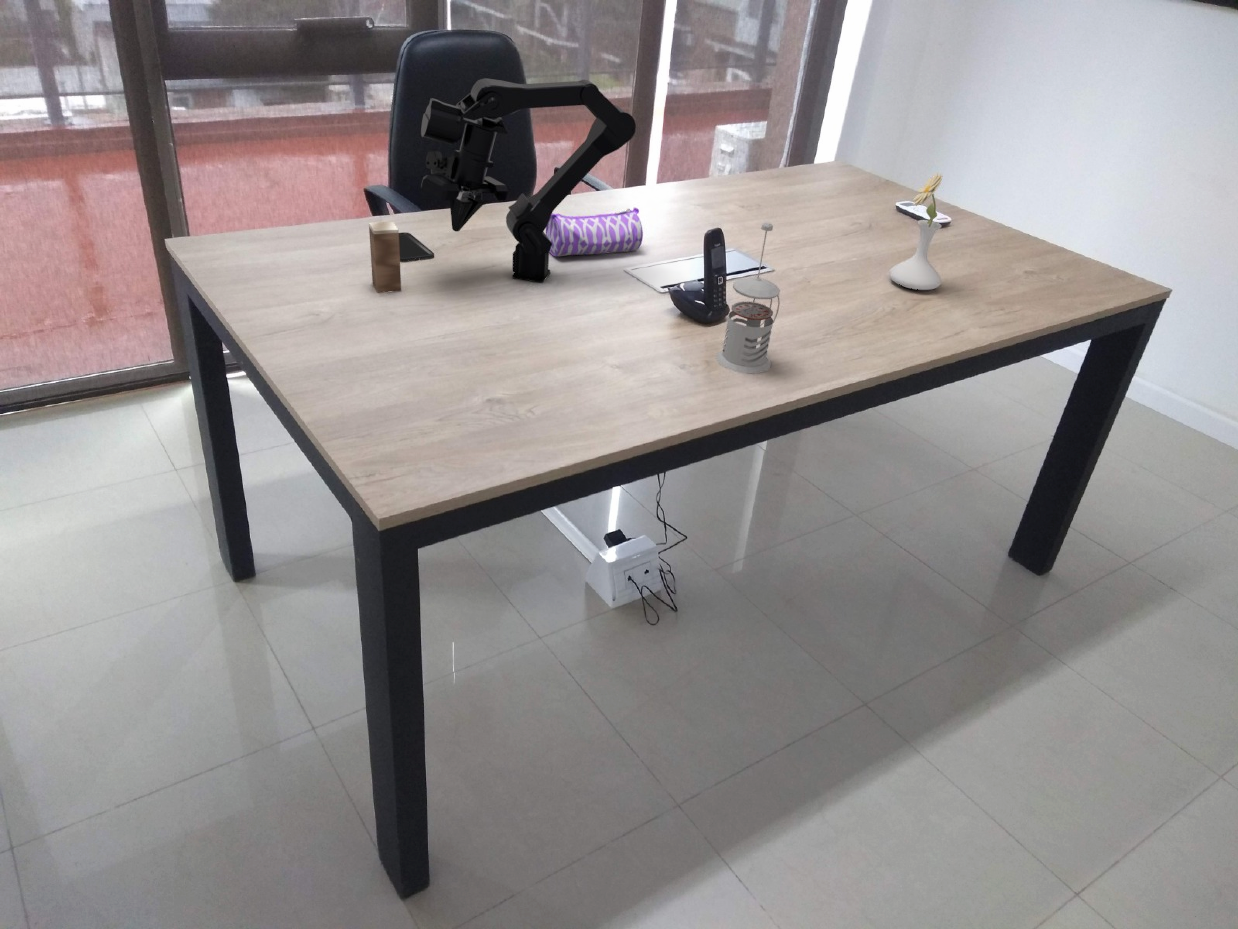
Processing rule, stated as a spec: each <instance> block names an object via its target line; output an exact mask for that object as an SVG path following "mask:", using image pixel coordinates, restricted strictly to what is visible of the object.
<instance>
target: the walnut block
mask: <svg viewBox="0 0 1238 929" xmlns="http://www.w3.org/2000/svg"><path fill="white" fill-rule="evenodd" d="M368 230H369V231H368V233H369V248H370V264H371V276H372V277H371V278H372V286H373V287H374V288H375V290H376V294H381V293H389V292H388V291H393V292H402V280H401V262H400V252H399V233H400V232H399V229H398V226H396V224H395V222H394V221H383V222H382V221H381V222H368ZM380 292H381V293H380Z"/></svg>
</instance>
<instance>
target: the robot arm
mask: <svg viewBox="0 0 1238 929" xmlns="http://www.w3.org/2000/svg"><path fill="white" fill-rule="evenodd" d="M429 99H430V100H429V104H428V105H427V106H426V109H425V113H423V116H422V120H421V126H420V127H421V128H420V135H421V137H422V138H426V139H431V140H433V141H437V142H442V143H445V144H448V145H451V146H452V145H453V144H455V143H458V142H459V141H461V143H460V147H459V150H457V149H455V150H454V151H453V152H452V155H451V156H450V157H447V156H446V157H445V156H443V155H442V152H441V151H434V150H433V151H432V150H430V151H428V152H427V155H426V159H425V166H426V168H427V169H429V170H430V173H431V174H426V175H425V176H423V177H422V181H421V185H420V189H421V190H423V191H425V192H426V193H428V194H431V195H432V196H434V197H436V198H438V199H440V200H443V201H448V203H449V210H450V219H451V229H452V231H454V232H456V233H457V232H460V231H461V229H462V228H463V227H464V226H465V225H466V223H468V221H469V220H470V219H471V218H472V217H473V216H474V215H475V214H476V212H477V211H479V210H480V208H482V207H483V206H484V205H486V204H487V201H486V200H484V199H483V194H492V195H493V197H494V199H495V200H496V201H507V200H506V199H507V196H508V192H509V190H508V188H507V185H506V184H504V183H503V182H501V181H499V180H497V179H495V178H493V177H492V176H486V174H487V170H488V168H489V169H490V168H491V169H493V167H494V163H495V162H493V161H492V160H490V159H491V156H492V152H493V147H494V143H495V140H496V136H497V133H498V134H502V135H505V136H507V135H508V134H509V130H508V129H507V128H506V126H505V123H504V120H503V118H502V117H505V116H510V115H513V114H514V113H517V112H519V111H521V110H525V109H540V108H541V109H542V108H556V107H557V108H558V107H559V108H560V107H570V106H571V107H575V106H585V108H586V109H588V111H589V112H590V113H591V115H593V116H594V117H595V119H594V121H593V122H592V124H591V126H590V129H589V132H588V134H587V136H586V138H585V140H584V141H583V142H582V143H581V145H579V147H577V149H576V150H575V151H574V152H573V153H572V154H571V155H570V157H568V158H567V160H565V162H563V164H562V165H561V166H560V167H559V168H558V170H556V172H555V173H554V174H552V176H551V177H550V178H549V179H548V180H547V182H545V184H544V185H543V186H542V187H541V188H540V189H539V190H538V191H537V192H536V193H535V194H532V195H531V196H529V197H527V196H526V195H525V194H524V193H521V194H520V195H519V196H518V198H517V199H516V201H515V202H514V203H513V204H511V205H509V206H508V209H509V211H508V212H507V214H506V217H505V219H506V220H505V222H506V223H505V224H506V227H507V229H508V230H509V232H510V233H511V234H512V237H513V238H514V239H515V240H516V242H518V243H517V244H516V245H515V248H514V251H513V252H512V265H511V266H512V268H511V271H512V272H513V274H512V276H511V278H513V279H516V280H517V279H518V280H524V281H530V282H536V283H537V282H538V283H543V282H544V281H545V280H546V279H547V277H549V275H550V274H551V269H549V261H550V260H549V259H550V252H549V251H550V248H551V246H552V243H551V241H550V240H549V239H548V237H547V236H546V232H544V231H546V227H547V225H548V222H549V220H550V217H551V215H552V213H553V212H554V211H555V210H556V208H558V206H559V205H560V204H561V203H562V202H563V201H564V200H565V199H566V198H567V196H569V194H570V193H571V192H572V191H573V190H574V189H575V188H576V187H577V186H578V184H579V183H580V182H581V181H582V180H583V179H585V177H586V176H587V175H588V174H589V173H590V171H592V169H594V167H595V166H596V165H597V164H598V163H599V162H600V161H601V160H602V159H603V158H604V157H606V156H607V155H610V154H612V153H615V152H616V151H618V150H620V149H621V148H622V147H624V146H625V145H626V144H627V143H629V142H630V141H631V140H632V139H633V137H634V136H635V134H636V132H637V130H636V125H637V124H636V121H635V119H634V116H632V115H631V114H630V113H629V112H627V111H626V110H625V109H623V108H622V107H620V106H619V105H615V104H613V103H612V101H610V100H609V99H608V98H607V97H606V96H605V95H604V94H603V93H602V92H601V91H600V89H599V88H598V86H597V85H596V84H594V83H593V82H592V81H590V80H589V79H580V80H577V81H573V80H572V81H560V82H559V81H557V82H539V83H516V82H510V81H507V80H506V81H505V80H499V79H495V78H494V79H492V78H480V79H478V80H477V81H476V82H475V83H474V84H473V86H472V88H471V90H470V93H468V94H467V95H466V96H465V97H464V98H463V99H461V100H459V102H457V103H456V104H455V105H453V104H449V103H447V102H443V101H441V100H439V99H436V98H433V97H430V98H429ZM443 175H445V176H443Z"/></svg>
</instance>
